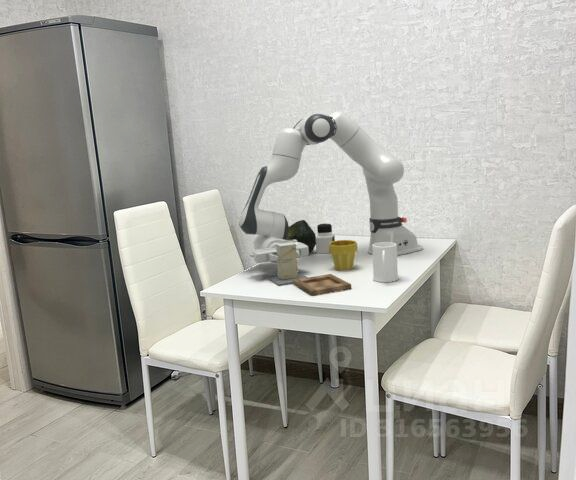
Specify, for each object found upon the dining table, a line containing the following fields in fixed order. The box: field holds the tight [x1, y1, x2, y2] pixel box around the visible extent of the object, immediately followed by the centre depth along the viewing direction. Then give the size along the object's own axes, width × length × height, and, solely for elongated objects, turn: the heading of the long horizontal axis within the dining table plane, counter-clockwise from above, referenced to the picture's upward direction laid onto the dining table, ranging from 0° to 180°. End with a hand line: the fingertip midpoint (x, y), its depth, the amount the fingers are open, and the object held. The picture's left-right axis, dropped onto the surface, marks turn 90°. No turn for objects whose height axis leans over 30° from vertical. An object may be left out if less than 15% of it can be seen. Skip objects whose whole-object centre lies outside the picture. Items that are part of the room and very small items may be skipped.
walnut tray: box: [292, 273, 352, 297], centre depth 191 cm, size 14×16×2 cm
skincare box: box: [276, 242, 299, 280], centre depth 202 cm, size 6×4×12 cm
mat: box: [267, 271, 309, 287], centre depth 203 cm, size 12×12×1 cm
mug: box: [372, 242, 399, 283], centre depth 192 cm, size 12×8×12 cm
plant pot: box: [329, 239, 358, 271], centre depth 212 cm, size 10×10×10 cm
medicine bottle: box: [315, 222, 336, 255], centre depth 242 cm, size 7×7×12 cm
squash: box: [285, 219, 317, 254], centre depth 243 cm, size 14×15×15 cm
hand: (288, 257), depth 200 cm, fingers closed on skincare box, 6 cm apart
